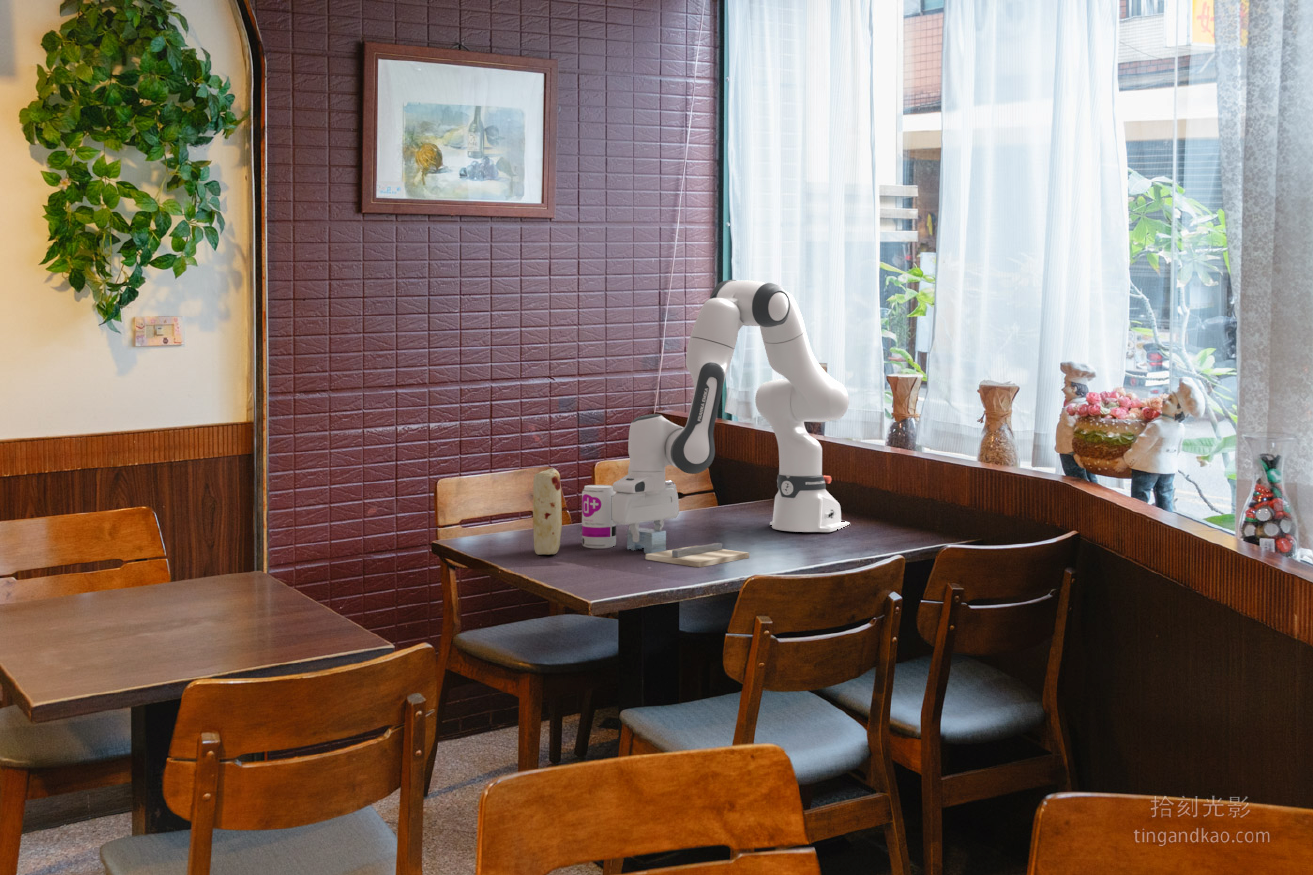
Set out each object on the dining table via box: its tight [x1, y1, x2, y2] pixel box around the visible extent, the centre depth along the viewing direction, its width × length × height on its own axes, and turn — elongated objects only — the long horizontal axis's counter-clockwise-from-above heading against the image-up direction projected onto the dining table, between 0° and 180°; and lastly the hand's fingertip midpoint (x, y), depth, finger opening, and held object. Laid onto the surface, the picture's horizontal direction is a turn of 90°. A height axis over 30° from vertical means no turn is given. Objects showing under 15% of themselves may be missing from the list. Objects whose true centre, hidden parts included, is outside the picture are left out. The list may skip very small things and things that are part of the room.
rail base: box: [645, 545, 750, 568], centre depth 275 cm, size 18×16×1 cm
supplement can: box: [581, 484, 617, 549], centre depth 290 cm, size 8×8×15 cm
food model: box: [532, 468, 563, 556], centre depth 280 cm, size 10×7×20 cm
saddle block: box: [626, 527, 667, 554], centre depth 285 cm, size 5×8×5 cm, turn 48°
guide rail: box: [671, 542, 723, 558], centre depth 275 cm, size 16×2×2 cm, turn 138°
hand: (646, 540), depth 285 cm, fingers closed on saddle block, 5 cm apart
